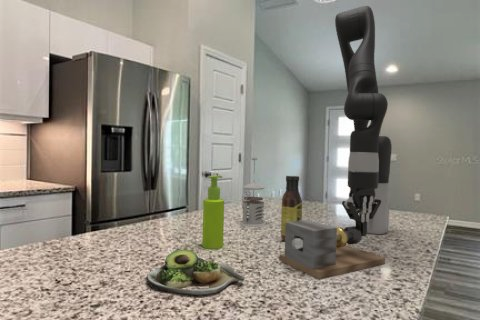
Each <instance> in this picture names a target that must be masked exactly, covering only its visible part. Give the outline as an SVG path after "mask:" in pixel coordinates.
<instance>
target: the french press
mask: <svg viewBox="0 0 480 320" xmlns="http://www.w3.org/2000/svg"><path fill="white" fill-rule="evenodd" d="M257 160H258V158H257V157H256V156H253V157H251V161H253V173H255V170H256V169H255V165H256V161H257ZM265 187H266V186H263V185H262V184H260V183H256V182H255V181H253V182H252V183H247V184H245V185H243V186H242V188H243V189H244V190H250V191H251V190H252V191H253V194H252V193H251V192H248V194H247V191H245V192H244V193H243V195H242V199H241V207H242V221H241V222H240V223H239V225H240V226H242V227H248V228H259V227H260V228H261V227H265V226H267V224H266V223H265V221H264V215H265V213H264V212H265V211H264V208H265V202H264V201H262V200H263V199H264V198H263V197H260V196H255V192H254V191H255V190H257V191H258V190H265ZM251 194H252V195H253V196H252V195H251Z"/></svg>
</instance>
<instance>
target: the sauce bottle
mask: <svg viewBox="0 0 480 320" xmlns="http://www.w3.org/2000/svg"><path fill="white" fill-rule="evenodd" d="M285 181H286V182H285V183H286V185H285V192H284V193H283V195H282V197H281V198H282V199H281V212H280V213H281V215H280V217H281V219H280V221H281V222H280V236H281V237H280V239H281V240H282V241H283V242H285V224H286V222H292V221H301V220H303V219H302V218H303V201H302V197H301V194H300V189H299V181H300V176H299V175H285Z"/></svg>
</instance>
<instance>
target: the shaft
mask: <svg viewBox="0 0 480 320" xmlns="http://www.w3.org/2000/svg"><path fill="white" fill-rule="evenodd" d="M334 227H335V226H334ZM335 228H337V239H336V248H341V247H344V246H345V245H355V244H356V245H357V244H359V243H360V242H361V241H362V239H363V238H362V237H363V236H362V234H361V231H360V230H359V228H357V227H355V226H347V227H345V228H342V227H340V226H337V227H335ZM292 247H293V248H294V249H301V248H303V238H295V239H293V240H292Z"/></svg>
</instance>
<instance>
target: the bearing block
mask: <svg viewBox="0 0 480 320" xmlns="http://www.w3.org/2000/svg"><path fill="white" fill-rule="evenodd" d="M295 238H303V248H301V249H294V248H293V247H292V240H293V239H295ZM336 239H337V228H335V226H332V225H328V224H324V223H321V222H317V221H313V220H310V219H302V220H301V221H292V222H286V224H285V241H284V253H280V254H279V257H278V258H279V261H280V260H281V261H280V262H282V263H284V264H285V265H289V266H290V267H292V268H295V269H297V270H299V271H301V272H304V273H305V274H307V275H309V276H312V277H314V278H316V279H318V280H320V279H325V278H329V277H334V276H339V275H343V274H347V273H351V272H356V271H360V270H364V269H369V268H374V267H377V266H382V265H385V264H386V258H385V257H383V256H380V255H377V254H374V253H371V252H367V251H365V250H362V249H359V248H356V247H352V246H350V245H348V244H346V245H345V246H344V247H341V248H336Z"/></svg>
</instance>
